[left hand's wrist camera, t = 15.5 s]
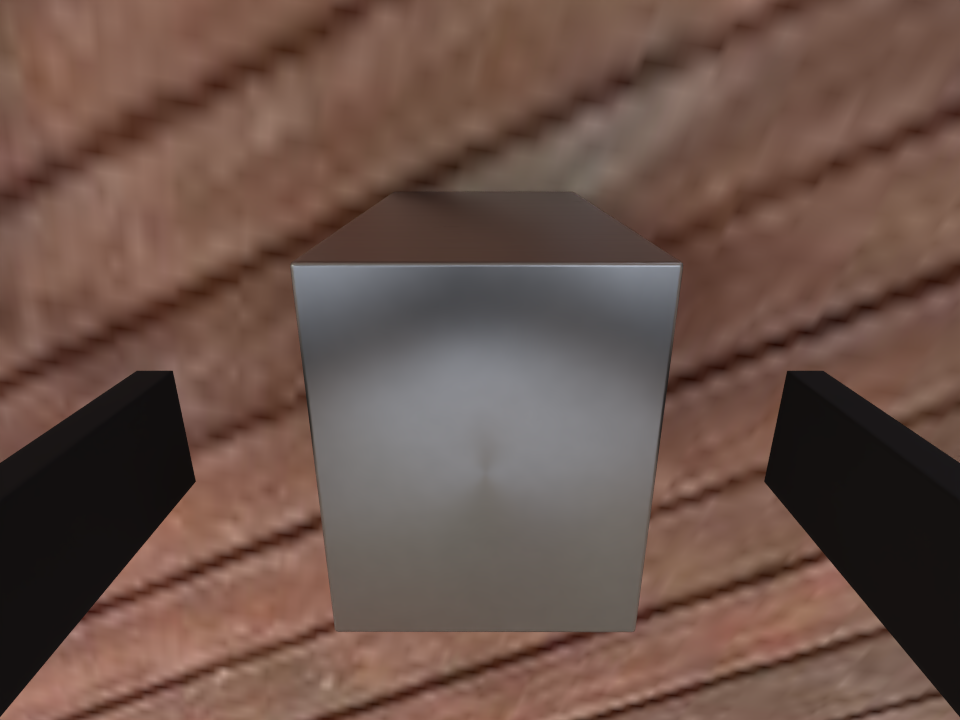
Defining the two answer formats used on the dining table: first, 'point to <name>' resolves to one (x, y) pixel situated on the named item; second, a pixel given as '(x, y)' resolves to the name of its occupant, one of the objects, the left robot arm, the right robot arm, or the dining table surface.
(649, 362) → the block
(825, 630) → the dining table surface
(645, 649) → the dining table surface
